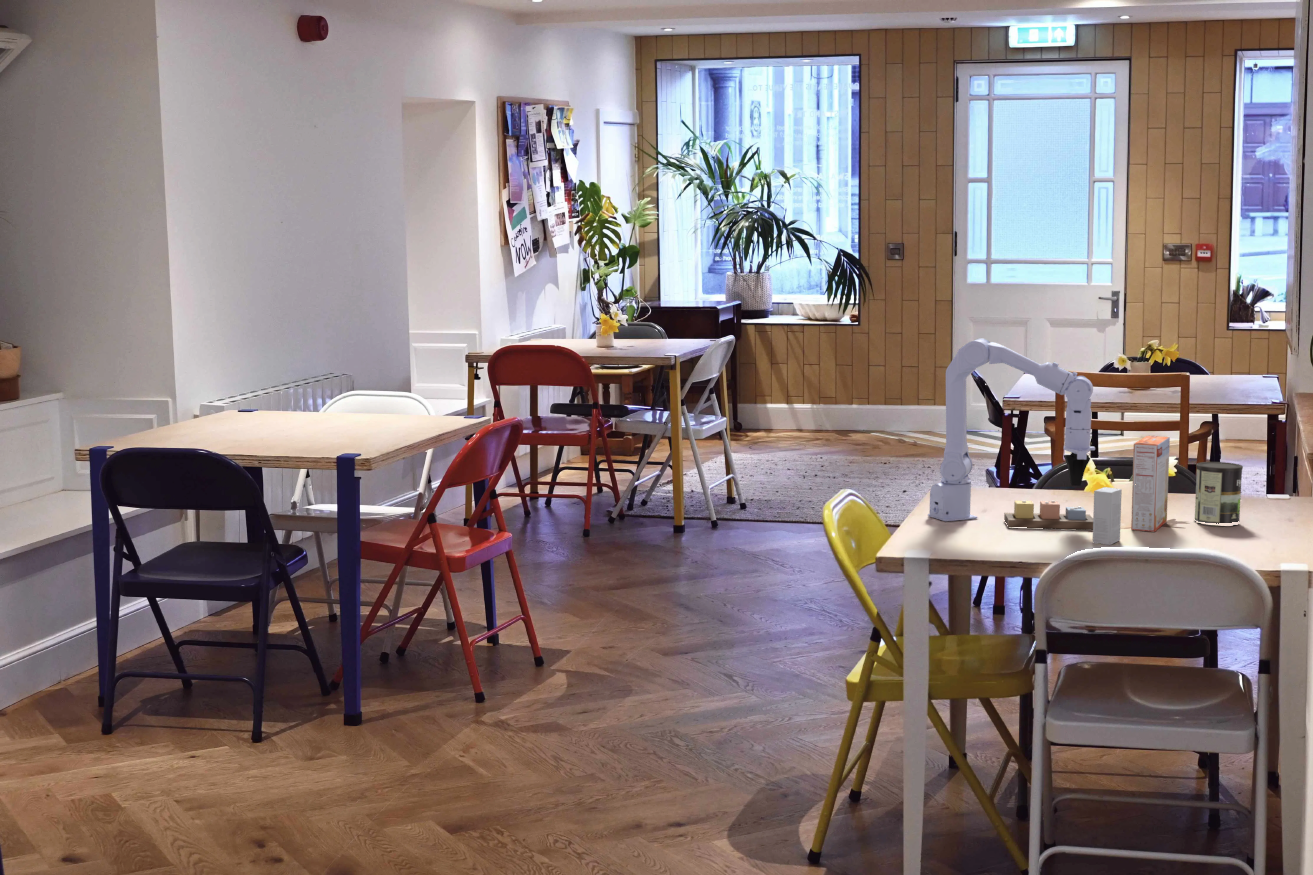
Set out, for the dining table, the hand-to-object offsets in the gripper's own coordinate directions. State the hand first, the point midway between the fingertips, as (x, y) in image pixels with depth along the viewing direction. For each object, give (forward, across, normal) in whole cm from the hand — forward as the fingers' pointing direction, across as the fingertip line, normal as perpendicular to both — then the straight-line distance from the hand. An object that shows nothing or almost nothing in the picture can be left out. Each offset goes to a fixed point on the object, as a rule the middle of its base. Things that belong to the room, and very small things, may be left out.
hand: (1075, 485), depth 330 cm
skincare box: (+10, -17, -4) cm, 20 cm away
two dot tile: (+8, 0, +6) cm, 10 cm away
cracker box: (+10, +2, -17) cm, 20 cm away
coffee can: (+10, +8, -34) cm, 37 cm away
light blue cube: (+9, 0, 0) cm, 9 cm away
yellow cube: (+8, 0, +12) cm, 14 cm away
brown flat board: (+10, 0, +6) cm, 11 cm away
